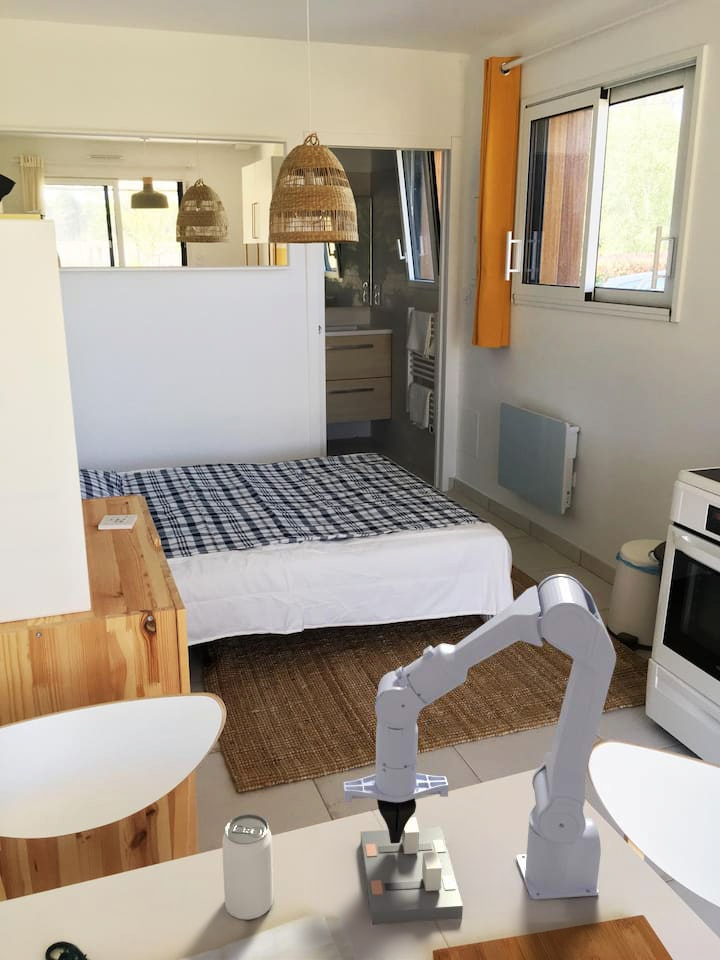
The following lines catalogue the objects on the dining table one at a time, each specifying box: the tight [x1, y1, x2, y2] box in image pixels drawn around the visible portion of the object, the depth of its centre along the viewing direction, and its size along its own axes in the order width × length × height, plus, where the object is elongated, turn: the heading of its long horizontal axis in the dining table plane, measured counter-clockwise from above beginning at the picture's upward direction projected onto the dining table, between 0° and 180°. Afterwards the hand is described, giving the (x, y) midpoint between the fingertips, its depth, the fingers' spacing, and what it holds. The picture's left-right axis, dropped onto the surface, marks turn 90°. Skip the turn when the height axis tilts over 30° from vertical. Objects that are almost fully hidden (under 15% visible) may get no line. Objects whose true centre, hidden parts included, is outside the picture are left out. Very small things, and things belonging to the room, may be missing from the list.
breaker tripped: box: [401, 817, 419, 854], centre depth 117 cm, size 2×3×4 cm, turn 5°
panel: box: [360, 826, 464, 925], centre depth 115 cm, size 12×15×2 cm
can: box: [221, 813, 274, 921], centre depth 109 cm, size 6×6×12 cm
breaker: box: [422, 852, 442, 891], centre depth 110 cm, size 2×3×4 cm, turn 5°
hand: (394, 838), depth 117 cm, fingers closed
